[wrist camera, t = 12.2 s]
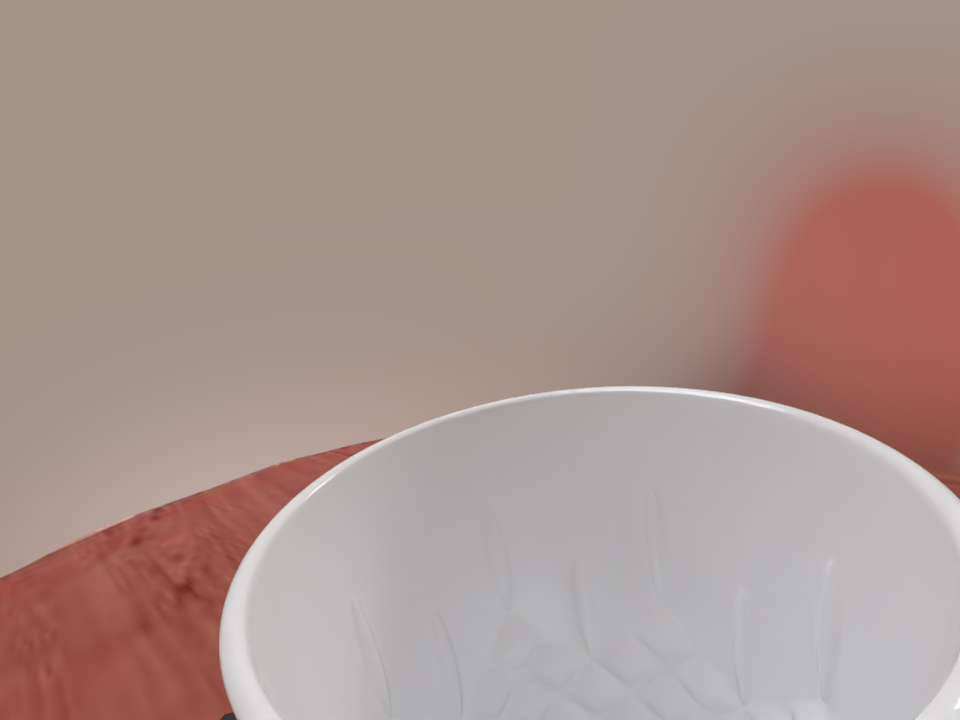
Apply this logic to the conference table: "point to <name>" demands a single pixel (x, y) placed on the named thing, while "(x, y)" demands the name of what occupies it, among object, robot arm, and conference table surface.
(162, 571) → the conference table surface
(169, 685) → the conference table surface
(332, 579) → the white cup
